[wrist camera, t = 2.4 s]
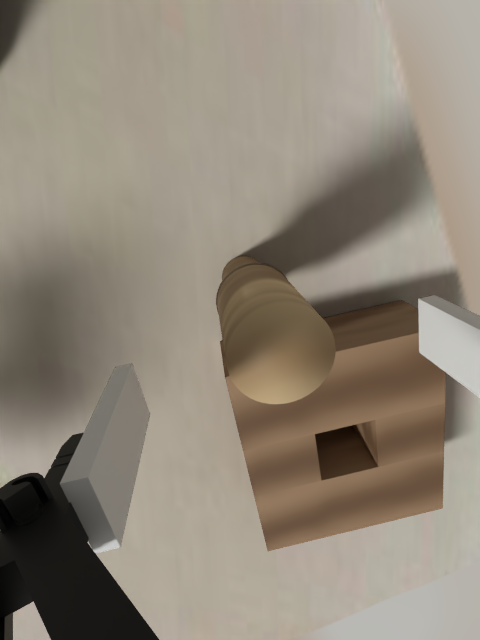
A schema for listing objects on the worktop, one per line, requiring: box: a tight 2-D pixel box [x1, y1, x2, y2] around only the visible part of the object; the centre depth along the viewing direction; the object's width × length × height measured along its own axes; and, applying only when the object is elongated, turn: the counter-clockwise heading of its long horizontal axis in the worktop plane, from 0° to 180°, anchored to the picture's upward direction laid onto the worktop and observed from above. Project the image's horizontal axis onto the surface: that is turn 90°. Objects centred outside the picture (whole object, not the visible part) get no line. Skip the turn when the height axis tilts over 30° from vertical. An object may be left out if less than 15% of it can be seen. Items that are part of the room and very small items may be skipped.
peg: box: [216, 256, 336, 404], centre depth 22 cm, size 5×5×14 cm
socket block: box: [220, 300, 446, 551], centre depth 31 cm, size 18×16×6 cm
